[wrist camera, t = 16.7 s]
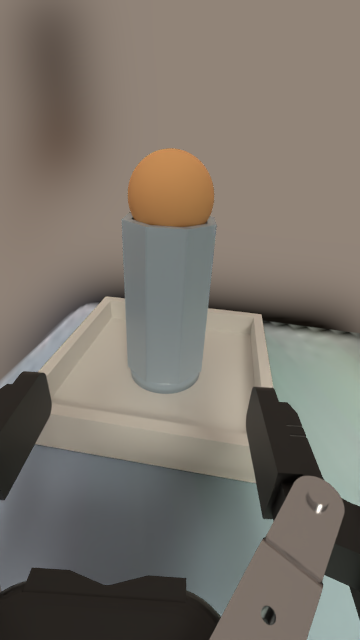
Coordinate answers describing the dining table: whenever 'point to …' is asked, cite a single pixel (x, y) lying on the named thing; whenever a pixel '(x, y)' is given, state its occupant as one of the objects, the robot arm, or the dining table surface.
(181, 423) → the tray
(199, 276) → the cup
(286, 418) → the robot arm
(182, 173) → the ball
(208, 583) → the dining table surface
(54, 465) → the dining table surface
